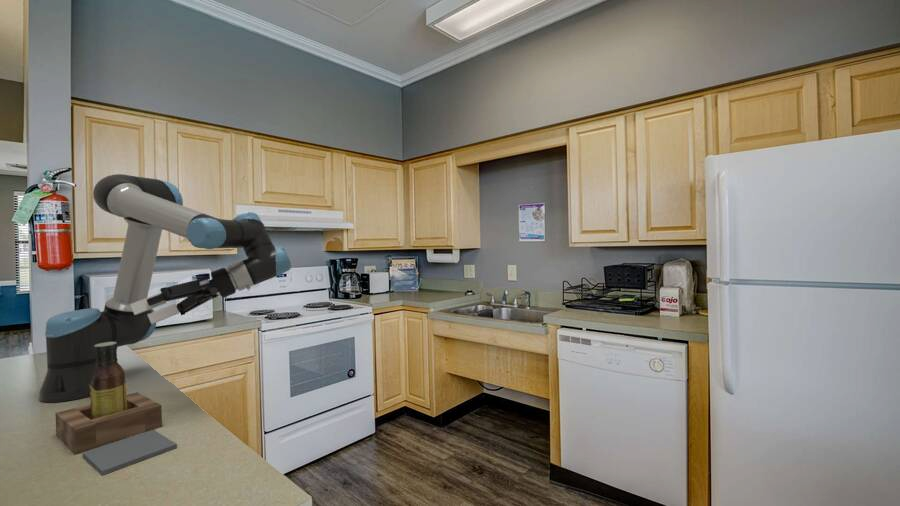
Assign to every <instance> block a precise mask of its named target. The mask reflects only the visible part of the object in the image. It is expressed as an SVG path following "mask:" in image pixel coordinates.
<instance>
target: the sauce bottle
mask: <svg viewBox="0 0 900 506" xmlns="http://www.w3.org/2000/svg"><path fill="white" fill-rule="evenodd" d="M117 350H118V347H117V342H105V343H100V344H96V345H94V352H95V359H96V362H95V368H94V371H93V373H92V376H91V379H90V382H89V386H90V396H89V399H90V404H91V417H92V419H96V418H100V417H103V416H107V415H110V414H114V413H118V412H121V411H125V410H127V395H128V394H127V382H126V379H125V378H126V377H125V376H126V374H125V370H124V369H123V367H122V366H121V365H120V364H119V362H118V355H117V353H118V352H117Z"/></svg>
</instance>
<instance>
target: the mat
mask: <svg viewBox="0 0 900 506" xmlns="http://www.w3.org/2000/svg"><path fill="white" fill-rule="evenodd" d="M177 448H178V444H177V443H176V442H175V441H172V440H171V439H170V438H168V437H166V436H165V435H163V434H161V433H160V432H158V431H156V430H155V429H152V430H149V431H146V432H143V433H140V434H137V435H134V436H131V437H128V438H125V439H122V440H118V441H115V442H112V443H109V444H106V445H103V446H100V447H97V448H94V449H91V450H88V451H84V452H82V458H83V459H84V460H86V462H88V464H89V465H91V467H93V468H94V469H95V470H96V471H97V472H98V473H99V474H100V475H101V476H104V475H105V476H106V475H107V474H110V473H113V472H116V471H118V470H121V469H123V468H126V467H129V466H131V465H134V464H137V463H139V462H143V461H145V460H148V459H151V458H153V457H156V456H158V455H161V454H165V453H166V452H169V451H172V450H176V449H177Z"/></svg>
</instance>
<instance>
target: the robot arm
mask: <svg viewBox="0 0 900 506" xmlns="http://www.w3.org/2000/svg"><path fill="white" fill-rule="evenodd" d="M92 191H93V192H92V196H93V200H94V202H95V204H96V205H97V206H98V207H99V209H101V210H102V211H104V212H106V213H108V214H111V215H113V216H117V217H119V218H123V220H124V221H125V222H126V224H127V230H126V234H125V239H124V243H123V249H122V253H121V257H120V258H121V259H120V264H119V265H118V272H117V278H116V282H115V285H114V286H115V287H114V290H113V291H114V292H113V295H112V296H113V297H111V298H109V299H108V300H106V301H105V304H104V308H103V311H101V310H100V309H99V308H95V307H94V308H93V307H92V308H89V307H88V308H83V309H77V310H76V309H75V310H71V311H65V312H62V313H59V314H55V315H53V316H51V317H50V318H48V320H47V321H46V324H45V333H44V336H45V343H46V364H47V365H46V366H47V371H46V374H45V376H44V379H43V382H42V384H41V387H40V389H39V401H40V402H42V403H59V402H68V401H74V400H79V399H83V398H88V397H90V386H89V382H90V379H91V376H92V373H93V371H94V368H95V362H96V359H95V352H94V345H96V344H100V343H105V342H117V348H119V347H123V346H126V345H127V346H128V345H134V344H137V343H139V342H142V341H145V340H147V339H148V338H150V337H151V336H152V335H153V333H154V332H155V330H156V327H157V323H159V322H160V321H164V320H166V319H168V318H171V317H173V316H176V315H178V314H180V315H181V316H184V315H186V313H188V312H190V311H192V310H195V309H196V308H198V307H199V306H202V305H203V304H205V303H207V302H209V301H210V300H213V299H216V298H218V297H219V296H218V293H219V295H220V296H221V298H228V297H229V296H231V295H234V294H236V292H237V291H239V292H241V291H244V290H245V289H246V290H251V287H253V286H256V285H258V284H260V283H263V282H266V281H269V280H271V279H273V278H275V277H276V278H277V277H278V276H280V275H283V274H284V273H287V272H289V271H290V270H291V268H292V264H291V263H292V262H291V259H290V257H289V255H288V253H287V251H286V250H285V248H284V247H283V246H280V245H279V246H275V245H274V243H273V242H272V239H271V237H270V235H269V233H268V232H267V229H266V227H265V224H264V222H263V221H262V220H261V218H260V217H259V215H258V214H257V213H256V212H251V211H250V212H247V213H246V212H243V213H241V214H238V215H237V216H235V217H234V218H232V219H225V218H224V219H222V218H218V217H215V216H211V215H209V214H206V213H203V212H202V211H201V212H200V211H198V210H196V209H192V208H189V207H187V206H184V201H183V196H182V194H181V192H180V190H179V188H178V187H177V186H176V185H174V183H171V182H169V181H165V180H161V179H157V178H150V177H145V176H144V177H142V176H135V175H130V174H129V175H128V174H121V173H120V174H119V173H117V174H116V173H115V174H111V175H110V174H109V175H107V176H105V177H103V178H101V179H100V180H99V181H97V183H96V184H95V185H94V188H93V190H92ZM163 230H164V231H166V232H169V233H172V234H174V235H177V236H179V237H182V238H185V239H187V240H188V242H190V244H191V245H192V246H193V247H195V248H197V249H206V250H214V249H216V250H217V249H243V252H244V253H245V255H246V257H247V258H246V259H242V260H239V261H237V262H234V263H232V264H229V265H227V268H226V267H222V268H219V269H216V270H214V271H211V272H210V276H211V277H212V279H208V277H207V276H204V277H200V278H198V279H194V280H192V281H187V282H182V283H178V284H174V285H171V286H166V287H162V288H160V289H159V290H160V292H159V293H156V294H153V295H151V296H149V291H150V287H151V282H152V277H153V274H154V273H153V272H154V268H155V264H156V259H157V255H158V252H159V245H160V243H161V242H160V240H161V236H162V232H163ZM236 290H237V291H236ZM148 296H149V297H148ZM180 299H183V300H181V301H180V302H178V303H177V304H176V303H173V304H171V305H168V306H166V307H162V308H161V309H158V310H156V311H155V310H154V309H155V308H158V307H160V306H164V305H165V304H167V302H171V301H175V300H180Z"/></svg>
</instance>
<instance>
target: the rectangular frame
mask: <svg viewBox="0 0 900 506" xmlns="http://www.w3.org/2000/svg"><path fill="white" fill-rule="evenodd" d="M126 395H127V410H125V411H121V412H118V413H114V414H110V415H107V416H103V417H100V418H96V419H92V417H91V403H90V404H86V405H83V406H78V407H74V408H70V409H66V410H61V411H59V412H58V411H57V412H55V436H56V437H57V438H58V439H59V440H61V441H62V443H63V444H64V445H66V447H67V448H68V449H70V450H71V451H72V452H73V453H74V454H75V455H78V454H82V453H83V452H86V451H89V450H93V449H96V448H99V447H102V446H105V445H108V444H111V443H114V442H117V441H120V440H123V439H126V438H129V437H133V436H136V435H139V434H142V433H145V432H148V431H151V430H155V428H156V429H158V427H159V428H161V426H162V427H163V415H162V404H161V403H159V402H156V401H155V400H153V399H151V398H149V397H147V396H145V395H143V394H141V393H139V392H138V391H137V392H133V393H129V394H126Z"/></svg>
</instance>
